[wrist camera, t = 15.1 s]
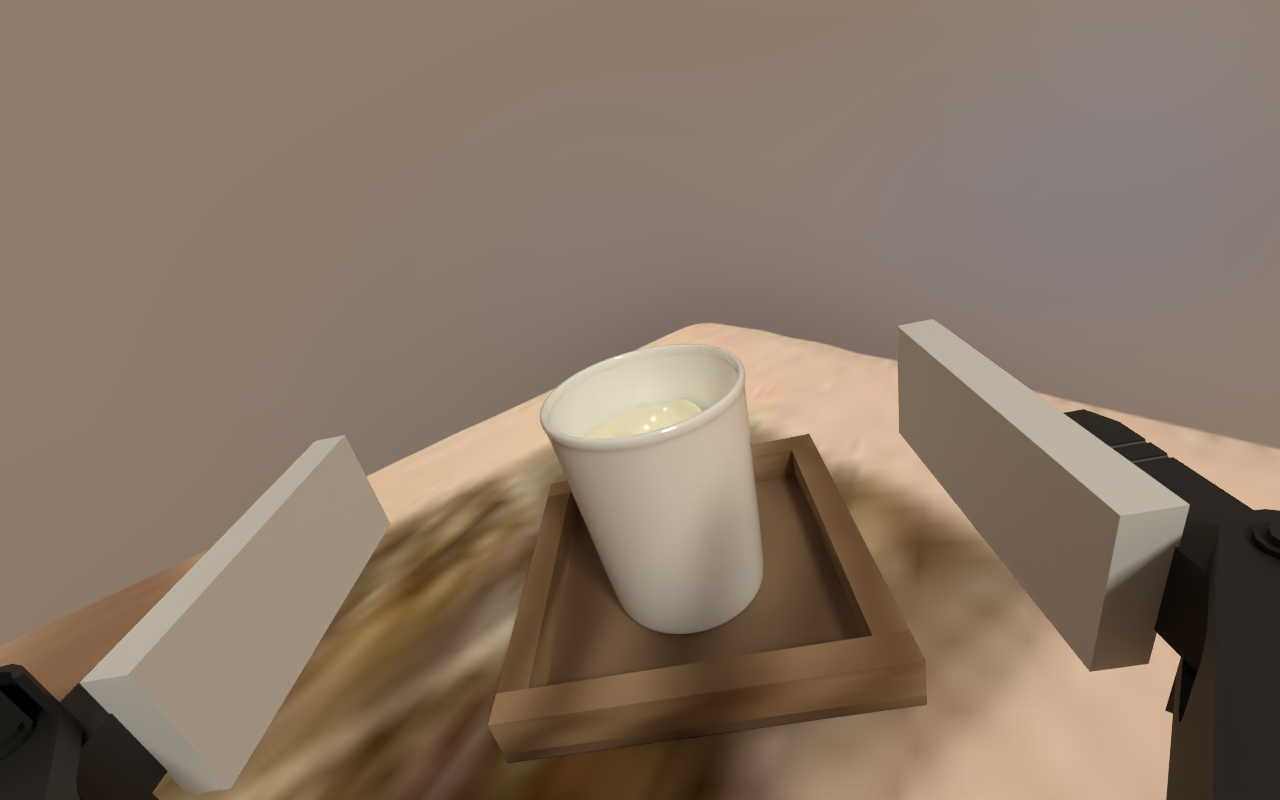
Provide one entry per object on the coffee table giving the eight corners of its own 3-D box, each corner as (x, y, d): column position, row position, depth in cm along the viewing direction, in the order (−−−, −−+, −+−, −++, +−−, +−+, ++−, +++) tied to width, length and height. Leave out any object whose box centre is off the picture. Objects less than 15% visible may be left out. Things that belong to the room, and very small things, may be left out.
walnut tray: (507, 762, 26) (488, 725, 24) (562, 513, 42) (551, 484, 41) (926, 704, 24) (925, 660, 22) (813, 466, 40) (809, 433, 39)
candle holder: (686, 501, 39) (645, 335, 33) (815, 557, 31) (788, 356, 26) (570, 592, 33) (501, 412, 28) (693, 686, 26) (630, 465, 21)
